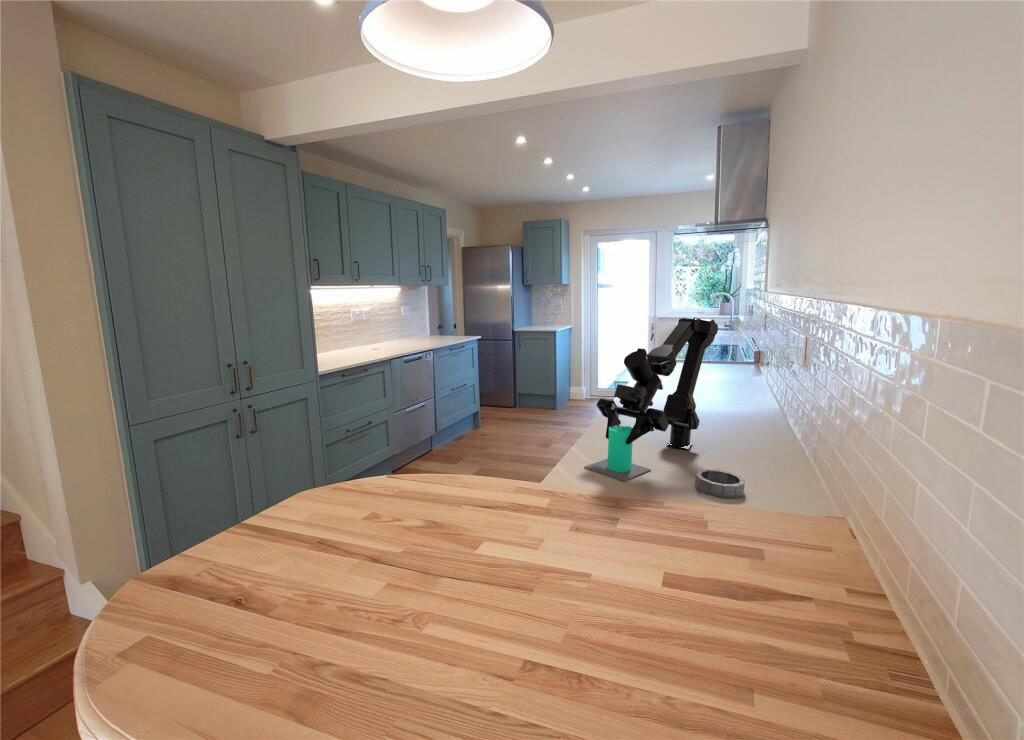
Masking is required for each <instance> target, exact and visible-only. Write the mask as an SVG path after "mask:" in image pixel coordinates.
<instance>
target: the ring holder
mask: <svg viewBox="0 0 1024 740" xmlns="http://www.w3.org/2000/svg"><path fill="white" fill-rule="evenodd" d="M694 483H695V484H694V487H695V489H696V490H697V491H698V492H700V493H702V494H705V495H707V496H709V497H714V498H719V499H724V500H727V499H728V500H735V499H740V498H743V496H744V494H745V493H744V492H745V485H746V480H745V479H744V478H743V477H742V476H741V475H738V474H736V473H733V472H730V471H726V470H721V469H708V468H707V469H705V468H704V469H702V470H698V471H697V472H696V473H695V481H694Z"/></svg>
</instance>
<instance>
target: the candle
mask: <svg viewBox="0 0 1024 740" xmlns="http://www.w3.org/2000/svg"><path fill="white" fill-rule="evenodd" d="M632 428H633V427H631V426H629V425H628V426H627V425H626V426H622V425H619V426H618V425H615V426H612V427H609V438H608V439H607V441H608V445H607V458H608V465H607V466H608V469H610V470H612V471H616V472H627V471H630V470H631V463H632V462H633V460H632V459H633V458H632V457H633V456H632V455H633V442H632V443H630V444H629V445H627V444H626V440H627V438H628V436H629V435H630V433H631V430H632Z"/></svg>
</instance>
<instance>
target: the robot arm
mask: <svg viewBox="0 0 1024 740" xmlns="http://www.w3.org/2000/svg"><path fill="white" fill-rule="evenodd" d="M718 331H719V325H718V323H716V321H715V319H711V318H710V319H708V318H697V317H694V316H693V317H692V316H682V317H680V318H679V319H678V321H677V324H676V326H675V327H674V328H673V330H672V331H671V332H670V334H669V335H668V336H667V338H666V339H665V340H664V342H663V343H662V344H661V345H660V346H657V347H655V348H653V349H651V351H649V352H647V350H646V348H637V350H635V351H632V352H630V353H629V354H628V355H625V357H624V360H623V363H624V366H625V368H626V369H627V371H628V373H629V375H630V377H631V379H632V380H634V381H635V384H634V385H633V386H629V385H624V384H620V383H619V384H617V385H616V389H615V391H614V395H613V397H615V398H618V400H619V404H621V405H622V406H618V405H617V404H616V402H615V400H614V399H610V398H605V397H602V398H599V400H598V401H597V402H596V407H597V409H598V410H599V411H600V413H601V415H602V416H603V417H605V418H607V422H606V429H605V430H606V431H605V438H606V439H607V440H608V438H609V427H612V426H615V425H618V426H621V424H622V421H621V420H620V416H621V415H622V416H625V417H629V418H634V419H635V423H634V425H633V427H632V430H631V433H630V435H629V436H628V438H627V440H626V444H627V445H629V444H630V443H632V444H633V442H634V441H636V440H638V439H640V437H642V436H644V435H646V434H648V433H650V432H654V431H655V430H656V431H660V432H667V430H668V428H669V426H670V432H669V433H670V435H669V441H670V444H672V445H670V444H669V443H668V442H667V443H666V445H667V444H669V445H670V446H675V447H684V446H688V445H690V443H691V433H692V431H693V430H698V428H699V426H700V418H699V416H698V414H697V412H696V408H697V404H696V401H695V398H694V393H695V389H696V385H697V381H698V377H699V373H700V370H701V367H702V363H703V359H704V355H705V351H706V349H707V348H708V347H709V346H710V345H711V344H713V342H714V340H715V338H716V336H717V334H718ZM686 344H688V345H687V348H686V354H685V356H684V361H683V365H682V368H681V372H680V374H679V378H678V382H677V386H676V389H675V391H674V392H673V393H672V394H670V393H669V394H667V397H666V402H665V404H664V406H663V410H661V409H657V408H653V407H652V406H653V405H654V402H653V400H654V397H655V395H656V394H657V392H658V390H660V391H662V390H663V389H664V385H663V384H662V379H661V378H660V376H662V377H669V376H671V374H673V372H674V370H675V368H676V367H677V366H676V365H677V357H678V355H679V353H680V352H681V351H682V349H683V348H684V347H685V345H686ZM651 407H652V408H651ZM675 447H674V448H675Z"/></svg>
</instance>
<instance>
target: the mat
mask: <svg viewBox="0 0 1024 740" xmlns="http://www.w3.org/2000/svg"><path fill="white" fill-rule="evenodd" d="M607 465H608V457H607V458H604V459H602V460H599V461H597V462H594V463H591V464H588V465H585V466H584V467H583V468H584V469H586V470H588V471H591V472H593V473H597V474H600V475H603V476H605V477H609V478H611V479H614V480H616V481H620V482H623V483H625V482H627V481H630V480H633V479H635V478H637V477H639V476H642V475H644V474H647V473H649V472H651V471H652V470H651V469H652V468H649V467H648V468H647V467H645V466H641V465H639V464H635V463H632V462H631V470H630V471H627V472H616V471H612V470H610V469H608V466H607Z"/></svg>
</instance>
